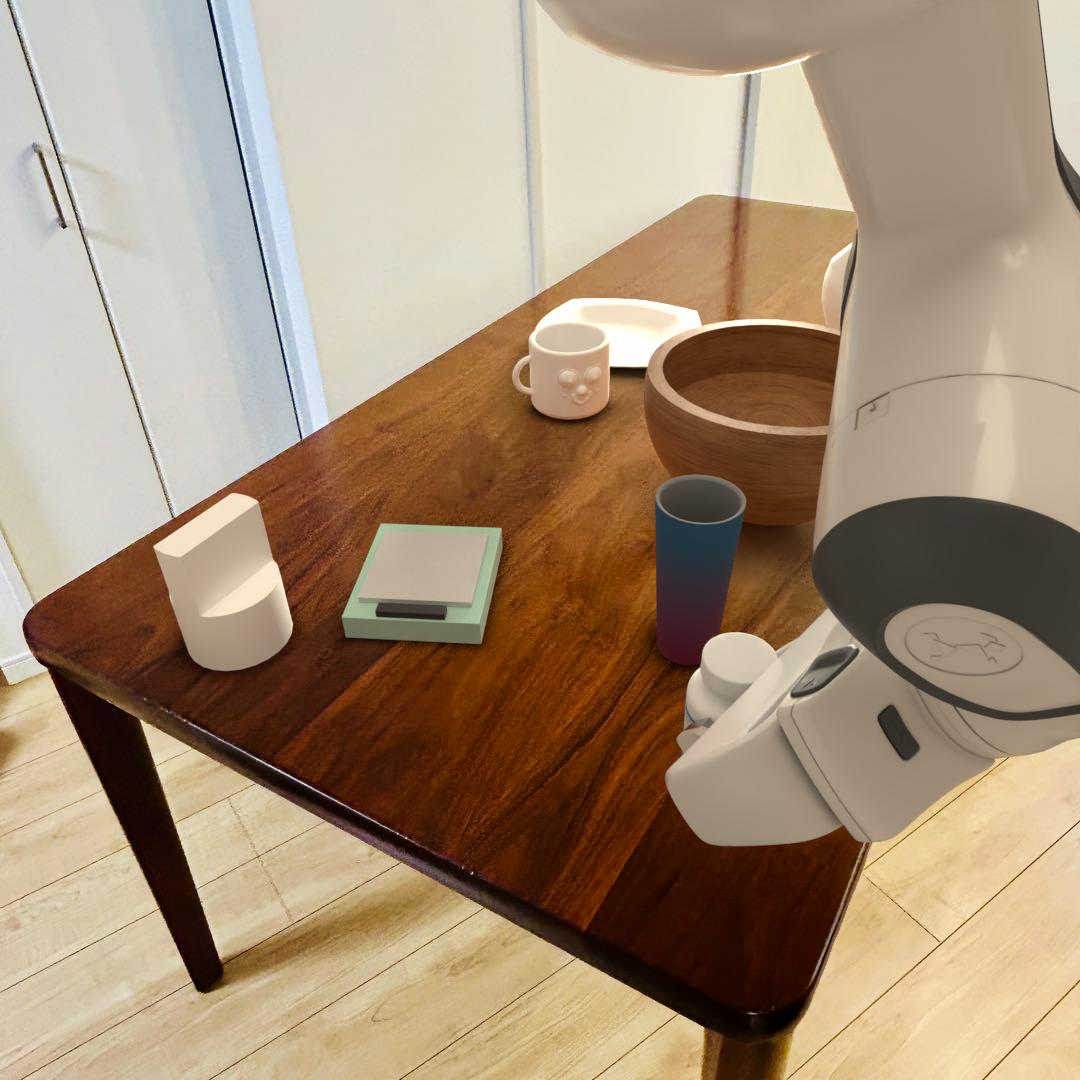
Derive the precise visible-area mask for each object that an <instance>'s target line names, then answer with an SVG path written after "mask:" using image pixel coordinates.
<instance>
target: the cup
mask: <svg viewBox="0 0 1080 1080" xmlns="http://www.w3.org/2000/svg"><path fill="white" fill-rule="evenodd" d="M654 494H655V496H654V501H655V502H654V512H655V513H654V516H655V517H654V519H655V524H654V525H655V601H656V602H655V606H656V607H655V610H656V612H655V613H656V615H655V616H656V647H657V649H658V652H659V653H660V654H661V655H662V656H663V657H664V658H665V659H667V660H668V661H670V662H671V663H675V664H677V665H683V666H696V665H701V659H702V652H703V649H704V647H705V645H706V643H707V642H708V641H709V640H711V639H712V638H714V637H716V636H718V635H720V631H721V627H722V623H723V622H722V621H723V617H724V613H725V608H726V602H727V597H728V594H729V589H730V584H731V578H732V574H733V569H734V565H735V560H736V555H737V552H738V551H737V550H738V544H739V541H740V537H741V536H740V535H741V531H742V526H743V523H744V522H743V517H744V512H745V508H746V498H745V496H744V494H743V492H742V491H741V490H740V489H739V488H738V487H737V486H735V485H734V484H732V483H730V482H728V481H726V480H724V479H721V478H717V477H713V476H708V475H684V476H679V477H676V478H670V479H668V480H666V481H664V482H663V483H662V484H660V486H659V487H658V488H657V489H656V491H655V493H654Z"/></svg>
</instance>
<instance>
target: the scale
mask: <svg viewBox="0 0 1080 1080" xmlns="http://www.w3.org/2000/svg"><path fill="white" fill-rule="evenodd" d="M503 547H504V544H503V530H502V527H486V526H482V527H481V526H462V525H461V526H459V525H434V524H433V525H432V524H407V523H383V522H382V523H380V524H379V527H378V529H377V531H376V534H375V537H374V539H373V541H372V543H371V546H370V548H369V550H368V553H367V555H366V558H365V561H364V562H363V565H362V568H361V570H360V573H359V575H358V577H357V579H356V581H355V584H354V587H353V589H352V591H351V594H350V596H349V598H348V601H347V603H346V605H345V607H344V610H343V614H341V621H342V626H343V631H344V635H345V638H349V639H350V638H351V639H367V640H368V639H370V640H389V641H390V640H391V641H410V642H426V643H427V642H429V643H448V644H469V645H481V644H482V643H483V637H484V634H485V629H486V625H487V620H488V615H489V610H490V606H491V602H492V596H493V593H494V589H495V584H496V579H497V575H498V571H499V566H500V561H501V556H502V553H503Z"/></svg>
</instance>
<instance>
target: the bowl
mask: <svg viewBox="0 0 1080 1080" xmlns="http://www.w3.org/2000/svg"><path fill="white" fill-rule="evenodd" d="M840 340H841V337H840V329H836V328H832V327H828V326H827V325H823V324H819V323H818V324H817V323H813V322H805V321H798V320H787V319H785V320H784V319H769V318H767V319H766V318H762V319H761V318H757V319H755V318H754V319H751V318H750V319H735V320H726V321H720V322H714V323H708V324H705V325H702V326H700V327H696V328H693V329H690V330H687V331H684V332H682V333H679V334H677V335H675V336H673V337H671V338H670V339H668V340H666V341H665V342H664V343H662V344H661V345H660V346H659V347H658V348H657V349H656V350H655V351H654V352H653V354H652V355H651V357H650V360H649V363H648V367H647V368H646V371H645V378H644V386H643V387H644V388H643V410H644V418H645V423H646V428H647V431H648V435H649V438H650V441H651V444H652V446H653V448H654V451H655V453H656V455H657V457H658V459H659V461H660V462H661V464H662V466H663V468H664V469H665V470H666V472H667V473H668V475H669V476H670V477H671V479H673V478H676V477H679V476H684V475H708V476H713V477H717V478H721V479H724V480H726V481H728V482H730V483H732V484H734V485H735V486H737V487H738V488H739V489H740V490H741V491H742V492H743V494H744V496H745V498H746V508H745V512H744V517H743V522H742V523H747V524H752V525H759V526H790V525H798V524H802V523H803V524H804V523H807V522H811V521H815V520H816V511H817V502H818V495H819V487H820V480H821V473H822V465H823V458H824V454H825V450H826V442H827V435H828V428H829V420H830V413H831V406H832V399H833V391H834V384H835V377H836V369H837V362H838V355H839V347H840Z"/></svg>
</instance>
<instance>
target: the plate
mask: <svg viewBox="0 0 1080 1080" xmlns="http://www.w3.org/2000/svg"><path fill="white" fill-rule="evenodd" d="M559 322H583V323H589V324H593V325H596V326H598V327H601V328H603V329H604V330H605V331H607V332H608V334H609V336H610V368H614V369H647V367H648V363H649V360H650V357H651V355H652V354H653V352H654V351H655V350H656V349H657V348H658V347H659V346H660V345H661V344H662V343H664V342H665V341H666V340H668V339H670V338H671V337H673V336H675V335H677V334H679V333H682V332H684V331H687V330H690V329H693V328H696V327H700V326H703V325H702V322H701V319H700V316H699V314H698V310H694V309H690V308H687V307H683V306H681V307H680V306H677V305H672V304H667V303H661V302H657V301H650V300H642V299H638V298H637V299H635V298H616V297H615V298H613V297H610V298H607V297H606V298H605V297H604V298H603V297H602V298H601V297H600V298H599V297H598V298H597V297H593V298H592V297H591V298H572V299H570V300H568V301H566V302H564V303H563V304H561V305H559V306H558V307H556V308H554V309H553V310H551V311H550V312H549V313H547V314H546V315H545V316H543V317H542V318H541V319H540V320H539V321H538V322H537V324H536V326H535V328H534V331H535V330H536V329H538V328H540V327H542V326H545V325H548V324H553V323H559Z"/></svg>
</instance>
